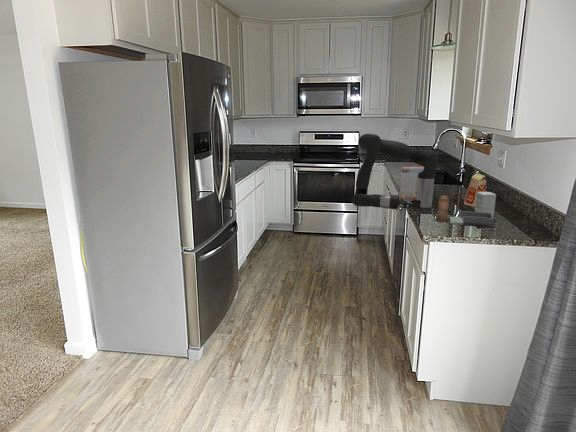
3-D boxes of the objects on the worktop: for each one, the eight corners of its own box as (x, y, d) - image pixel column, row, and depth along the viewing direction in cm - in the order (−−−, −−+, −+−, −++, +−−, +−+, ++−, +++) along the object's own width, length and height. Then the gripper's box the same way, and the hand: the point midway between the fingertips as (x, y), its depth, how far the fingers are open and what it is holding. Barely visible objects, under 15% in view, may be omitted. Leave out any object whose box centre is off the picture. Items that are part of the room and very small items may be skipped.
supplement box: (487, 213, 231) (489, 191, 228) (493, 217, 224) (496, 194, 220) (474, 213, 231) (476, 191, 227) (480, 217, 223) (483, 194, 220)
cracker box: (420, 198, 271) (423, 166, 266) (422, 200, 265) (425, 167, 260) (398, 197, 272) (400, 166, 267) (400, 199, 267) (402, 167, 261)
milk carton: (464, 203, 255) (467, 171, 250) (475, 202, 258) (479, 170, 253) (475, 207, 247) (479, 173, 242) (487, 205, 250) (491, 173, 245)
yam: (436, 218, 220) (439, 194, 216) (446, 219, 218) (449, 194, 215) (436, 221, 215) (439, 195, 212) (447, 222, 214) (449, 196, 210)
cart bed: (449, 218, 221) (450, 210, 220) (490, 221, 215) (491, 213, 213) (450, 224, 210) (451, 215, 209) (493, 227, 204) (494, 218, 202)
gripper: (388, 197, 216) (420, 199, 211) (391, 192, 229) (421, 194, 224) (387, 211, 218) (419, 214, 213) (390, 205, 231) (420, 208, 226)
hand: (420, 204), depth 218 cm, fingers open, 8 cm apart
